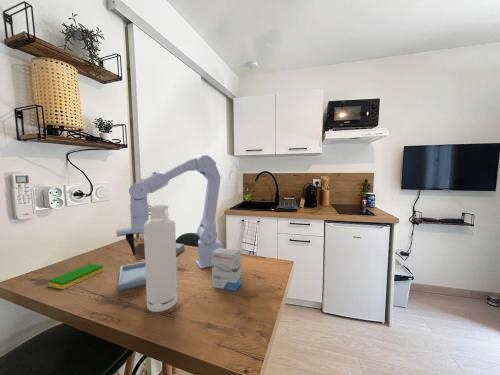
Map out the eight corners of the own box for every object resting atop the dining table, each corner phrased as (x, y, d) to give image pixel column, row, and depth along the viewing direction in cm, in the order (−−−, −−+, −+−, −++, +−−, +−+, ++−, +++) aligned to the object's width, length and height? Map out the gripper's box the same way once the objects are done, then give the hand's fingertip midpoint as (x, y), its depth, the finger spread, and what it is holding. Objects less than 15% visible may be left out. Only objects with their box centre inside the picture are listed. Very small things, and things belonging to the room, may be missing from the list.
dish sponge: (104, 271, 80) (104, 265, 80) (63, 290, 67) (63, 283, 67) (90, 269, 82) (90, 263, 82) (48, 287, 69) (48, 280, 69)
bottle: (153, 295, 63) (150, 204, 62) (180, 293, 64) (178, 203, 62) (141, 312, 55) (137, 208, 54) (172, 310, 56) (169, 208, 54)
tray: (160, 263, 86) (160, 258, 86) (165, 280, 72) (165, 274, 72) (120, 271, 79) (120, 266, 79) (118, 291, 65) (118, 285, 65)
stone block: (153, 262, 93) (173, 259, 91) (151, 251, 93) (170, 248, 91) (168, 253, 104) (186, 250, 102) (166, 243, 104) (184, 240, 102)
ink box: (241, 284, 70) (241, 249, 69) (235, 291, 65) (235, 255, 64) (218, 280, 72) (218, 246, 72) (211, 287, 68) (210, 252, 67)
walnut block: (147, 254, 78) (146, 241, 78) (148, 258, 75) (147, 244, 74) (135, 256, 76) (134, 243, 76) (135, 260, 73) (134, 246, 72)
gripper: (115, 220, 67) (117, 261, 68) (163, 215, 75) (164, 252, 75) (116, 216, 74) (118, 254, 74) (160, 212, 81) (161, 246, 82)
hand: (141, 253), depth 75 cm, fingers closed on walnut block, 4 cm apart
